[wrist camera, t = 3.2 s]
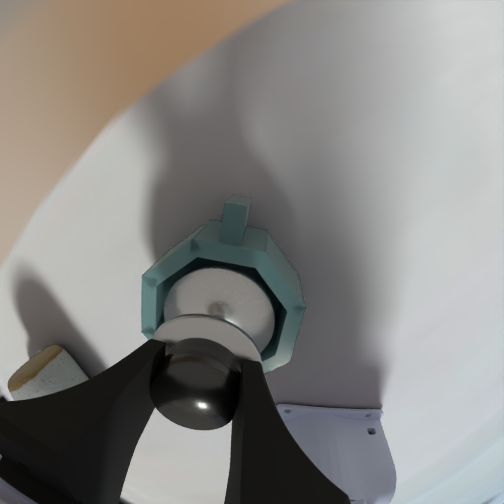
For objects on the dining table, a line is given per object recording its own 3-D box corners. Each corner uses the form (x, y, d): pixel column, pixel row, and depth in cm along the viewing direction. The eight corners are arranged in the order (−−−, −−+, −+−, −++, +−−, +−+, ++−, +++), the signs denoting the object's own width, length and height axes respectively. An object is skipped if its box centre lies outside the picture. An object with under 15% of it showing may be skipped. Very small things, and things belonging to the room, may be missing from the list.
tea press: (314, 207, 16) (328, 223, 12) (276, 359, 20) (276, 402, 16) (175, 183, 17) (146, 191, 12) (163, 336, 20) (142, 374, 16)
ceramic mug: (69, 328, 20) (16, 383, 13) (129, 399, 22) (95, 463, 15) (24, 357, 23) (-16, 398, 16) (72, 413, 25) (41, 459, 17)
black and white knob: (285, 276, 14) (293, 358, 8) (262, 366, 16) (257, 457, 10) (170, 254, 14) (109, 318, 8) (165, 346, 16) (124, 427, 10)
